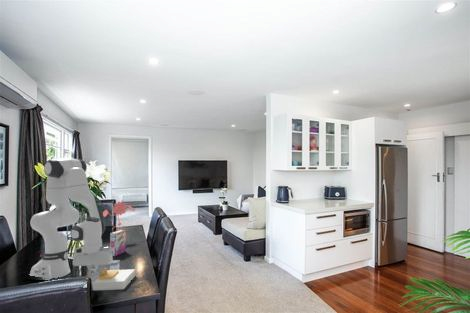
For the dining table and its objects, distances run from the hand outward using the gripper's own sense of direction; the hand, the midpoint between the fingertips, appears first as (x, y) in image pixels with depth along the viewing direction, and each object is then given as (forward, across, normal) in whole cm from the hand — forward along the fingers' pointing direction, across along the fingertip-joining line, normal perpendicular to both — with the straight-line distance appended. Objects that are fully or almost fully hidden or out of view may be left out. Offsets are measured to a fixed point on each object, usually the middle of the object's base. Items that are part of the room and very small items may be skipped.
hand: (93, 273), depth 142 cm
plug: (+6, -5, -15) cm, 17 cm away
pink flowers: (+6, +21, -83) cm, 86 cm away
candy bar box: (+6, +8, -50) cm, 51 cm away
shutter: (+2, -8, 0) cm, 9 cm away
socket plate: (+6, -12, 0) cm, 13 cm away
